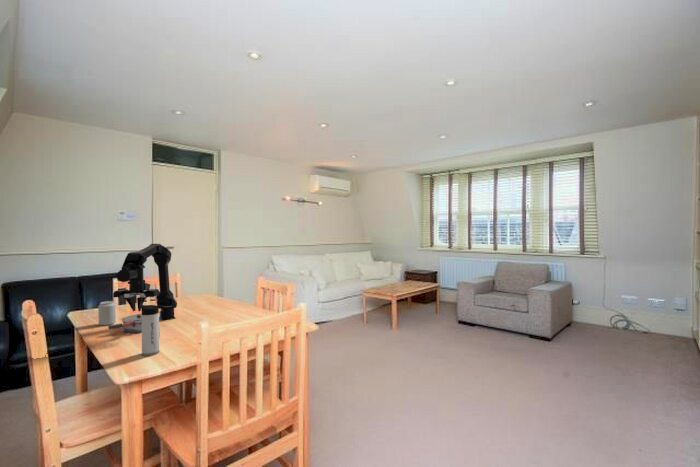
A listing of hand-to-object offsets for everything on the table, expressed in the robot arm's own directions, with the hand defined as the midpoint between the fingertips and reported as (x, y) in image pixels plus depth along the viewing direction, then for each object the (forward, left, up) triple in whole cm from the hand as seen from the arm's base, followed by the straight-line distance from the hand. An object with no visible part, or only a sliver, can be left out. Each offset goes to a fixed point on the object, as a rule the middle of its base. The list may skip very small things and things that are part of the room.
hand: (136, 311), depth 163 cm
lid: (-2, -9, -7) cm, 11 cm away
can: (+5, -34, -12) cm, 36 cm away
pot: (-2, -11, -12) cm, 16 cm away
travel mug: (+3, +29, -12) cm, 32 cm away
